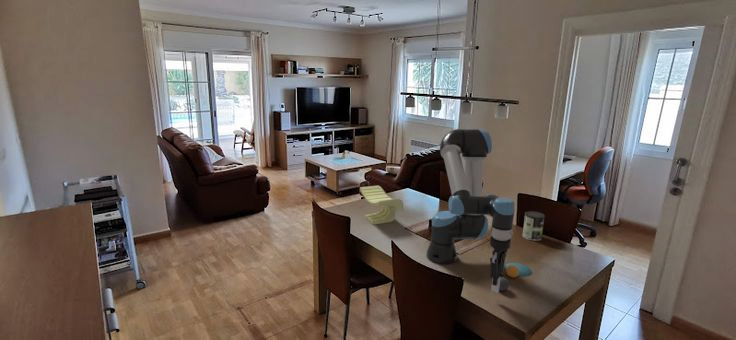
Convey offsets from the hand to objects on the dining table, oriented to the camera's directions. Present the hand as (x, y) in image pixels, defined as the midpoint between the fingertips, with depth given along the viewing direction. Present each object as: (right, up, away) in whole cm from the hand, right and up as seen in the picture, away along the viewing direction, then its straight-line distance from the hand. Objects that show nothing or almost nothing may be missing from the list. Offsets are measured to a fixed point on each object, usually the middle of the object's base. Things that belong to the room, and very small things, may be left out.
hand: (494, 291), depth 150 cm
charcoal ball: (+6, 0, +8) cm, 10 cm away
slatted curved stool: (-44, +18, +85) cm, 97 cm away
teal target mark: (+20, +2, +26) cm, 33 cm away
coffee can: (+43, +10, +63) cm, 77 cm away
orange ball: (+15, +3, +19) cm, 24 cm away
